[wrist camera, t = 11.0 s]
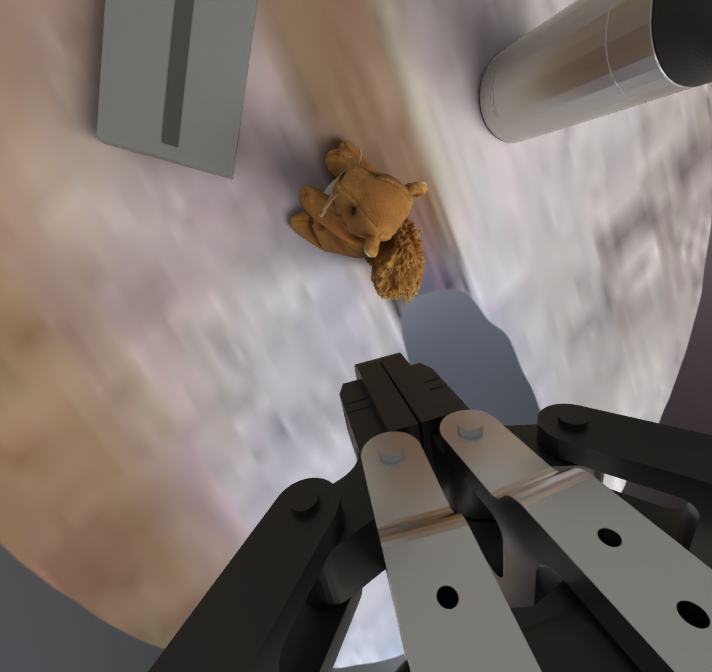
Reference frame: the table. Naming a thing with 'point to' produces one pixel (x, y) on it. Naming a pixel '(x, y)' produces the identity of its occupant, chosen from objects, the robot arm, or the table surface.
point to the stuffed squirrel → (366, 221)
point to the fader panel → (176, 79)
